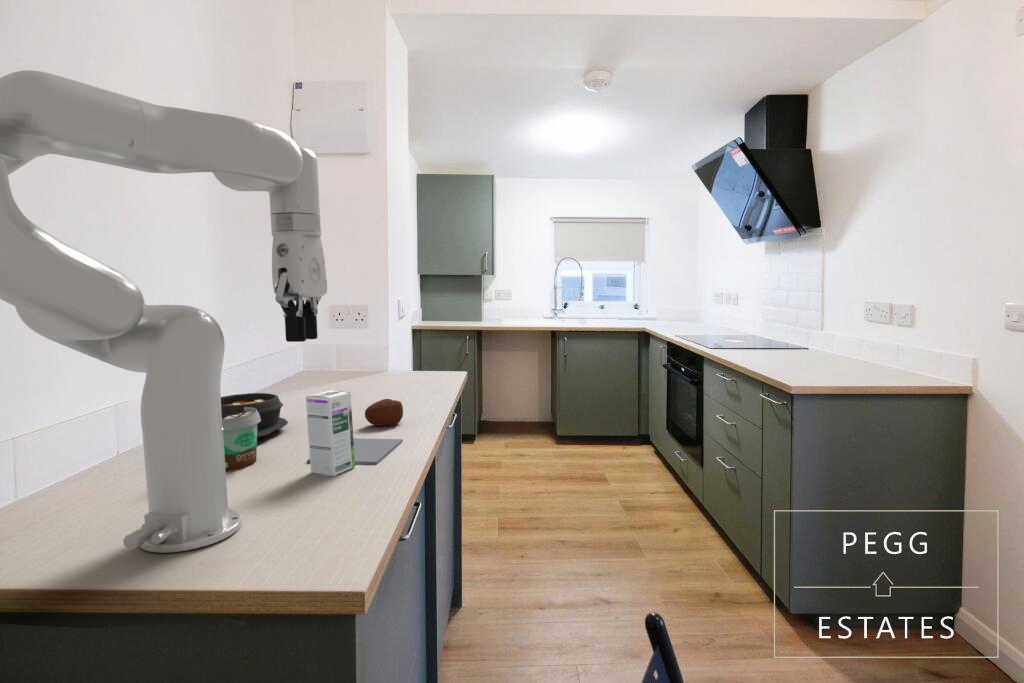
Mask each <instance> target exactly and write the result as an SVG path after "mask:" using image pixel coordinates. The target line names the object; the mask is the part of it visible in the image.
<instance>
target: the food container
mask: <svg viewBox="0 0 1024 683" xmlns="http://www.w3.org/2000/svg"><path fill="white" fill-rule="evenodd" d="M260 421H261V419H260V415H259V413H258V412H257V409H255V408H251V407H244V412H241V413H239V414H236V415H228V416H225V417H223V418H222V424H223V439H224V454H225V469H226V472H231V470H232V471H237V469H238V470H241V468H242V469H245V467H246V468H249V467H251V466H253V465H255V464H256V463H255V462H257V455H258V454H257V446H258V438H257V423H259V422H260ZM254 463H255V464H254ZM248 466H249V467H248Z"/></svg>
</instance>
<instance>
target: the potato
mask: <svg viewBox="0 0 1024 683" xmlns="http://www.w3.org/2000/svg"><path fill="white" fill-rule="evenodd" d="M403 415H404V407H403V404H402V401H401V400H394V399H390V398H384V399H381V400H378V401H376V402H374V403H372V404H371V405H369V406H368V407H367V408H366V409H365V411H364V417H365V418H364V419H366V421H367V423H369V424H371V425H374V426H383V427H384V426H386V427H387V426H395V425H397V424H399V423H400V422H401V421H402V420H403Z"/></svg>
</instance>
